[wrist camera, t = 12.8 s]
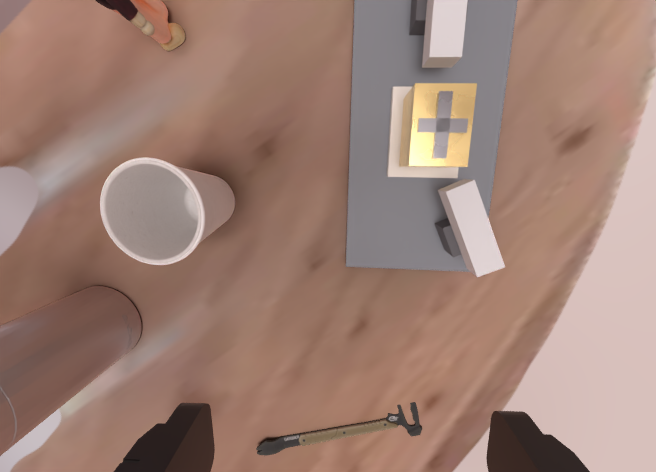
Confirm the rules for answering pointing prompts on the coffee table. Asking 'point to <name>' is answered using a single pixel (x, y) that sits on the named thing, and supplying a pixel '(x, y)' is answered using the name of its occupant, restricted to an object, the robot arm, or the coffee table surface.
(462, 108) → the yellow plus-sign block
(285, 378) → the coffee table surface
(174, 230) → the dixie cup
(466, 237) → the lever control panel
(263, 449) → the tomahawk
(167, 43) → the grandmother figurine
